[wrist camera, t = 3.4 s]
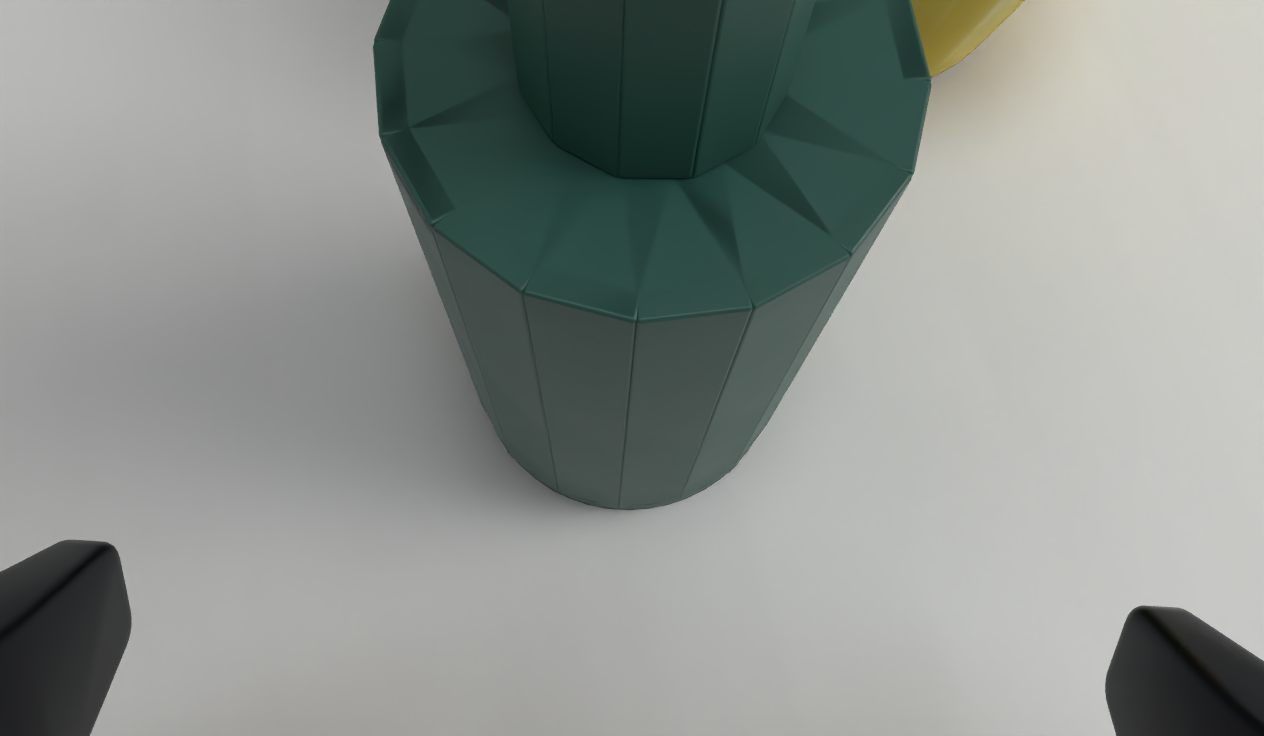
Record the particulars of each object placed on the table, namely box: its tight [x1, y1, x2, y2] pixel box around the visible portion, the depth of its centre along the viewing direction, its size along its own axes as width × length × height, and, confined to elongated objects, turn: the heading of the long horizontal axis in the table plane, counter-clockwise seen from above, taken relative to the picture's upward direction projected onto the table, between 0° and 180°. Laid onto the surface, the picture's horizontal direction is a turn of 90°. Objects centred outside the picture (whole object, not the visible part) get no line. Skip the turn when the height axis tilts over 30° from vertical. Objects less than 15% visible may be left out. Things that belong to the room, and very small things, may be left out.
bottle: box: [373, 0, 931, 510], centre depth 16 cm, size 7×7×15 cm
